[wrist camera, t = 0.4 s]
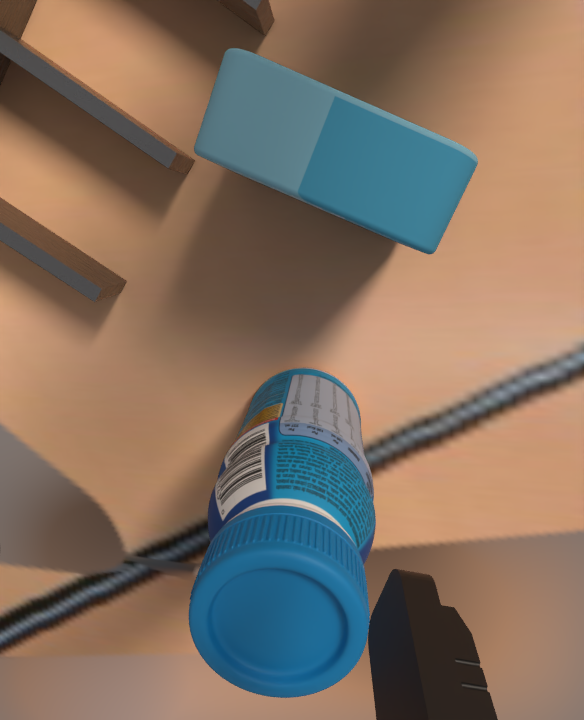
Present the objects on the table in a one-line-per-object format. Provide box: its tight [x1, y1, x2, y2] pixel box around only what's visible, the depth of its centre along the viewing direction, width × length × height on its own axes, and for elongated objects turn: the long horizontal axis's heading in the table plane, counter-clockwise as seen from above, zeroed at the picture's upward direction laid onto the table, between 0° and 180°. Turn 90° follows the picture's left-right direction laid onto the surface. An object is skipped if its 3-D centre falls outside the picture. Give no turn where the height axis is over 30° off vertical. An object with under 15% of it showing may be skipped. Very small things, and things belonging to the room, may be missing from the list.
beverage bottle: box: [189, 368, 376, 698], centre depth 28 cm, size 8×8×20 cm
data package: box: [194, 48, 478, 254], centre depth 27 cm, size 12×4×12 cm, turn 68°
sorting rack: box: [0, 0, 274, 302], centre depth 27 cm, size 30×14×9 cm, turn 146°
